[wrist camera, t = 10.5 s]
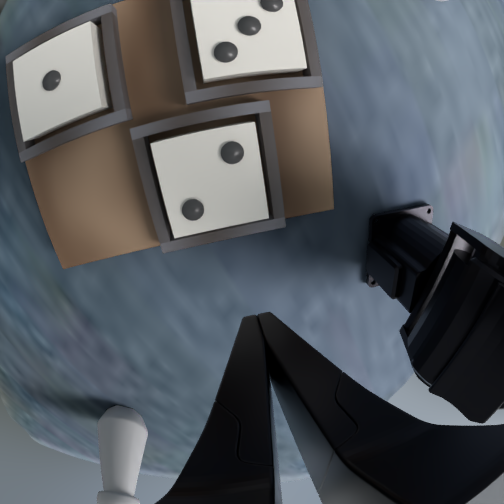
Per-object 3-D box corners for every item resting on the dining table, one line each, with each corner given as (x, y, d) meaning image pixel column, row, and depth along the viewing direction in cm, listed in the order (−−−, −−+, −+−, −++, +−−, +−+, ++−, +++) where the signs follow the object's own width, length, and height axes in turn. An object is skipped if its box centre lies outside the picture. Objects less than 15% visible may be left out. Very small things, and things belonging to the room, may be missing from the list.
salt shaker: (91, 408, 26) (77, 505, 14) (120, 395, 25) (110, 507, 14) (127, 429, 28) (123, 520, 17) (158, 419, 28) (160, 520, 16)
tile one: (101, 29, 10) (89, 20, 8) (112, 107, 13) (101, 107, 11) (28, 64, 10) (11, 61, 8) (39, 137, 12) (22, 142, 10)
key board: (291, -11, 12) (308, -30, 9) (321, 199, 19) (342, 215, 16) (25, 58, 11) (-1, 53, 8) (73, 255, 18) (56, 278, 15)
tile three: (281, -4, 11) (291, -16, 9) (295, 72, 13) (308, 67, 12) (190, 4, 11) (189, -9, 9) (203, 83, 13) (203, 78, 11)
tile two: (248, 121, 14) (255, 121, 13) (262, 207, 17) (269, 219, 15) (155, 140, 14) (149, 144, 12) (176, 225, 16) (174, 239, 14)
